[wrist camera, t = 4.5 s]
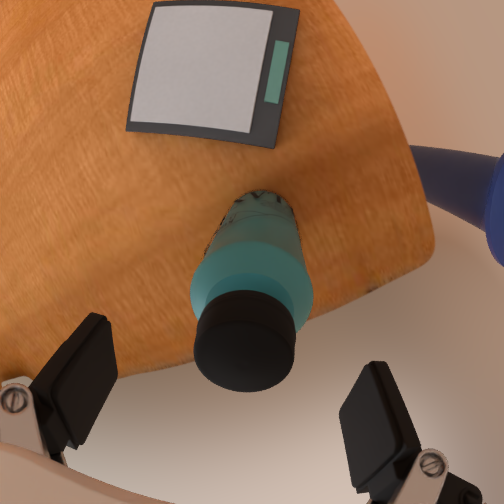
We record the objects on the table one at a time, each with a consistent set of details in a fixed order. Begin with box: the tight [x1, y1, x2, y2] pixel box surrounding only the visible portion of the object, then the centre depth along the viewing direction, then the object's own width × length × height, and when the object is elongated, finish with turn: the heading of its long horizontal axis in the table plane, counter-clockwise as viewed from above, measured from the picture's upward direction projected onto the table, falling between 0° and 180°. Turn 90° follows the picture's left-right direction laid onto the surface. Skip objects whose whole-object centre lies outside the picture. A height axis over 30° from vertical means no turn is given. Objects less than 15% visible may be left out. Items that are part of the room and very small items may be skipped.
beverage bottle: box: [190, 189, 313, 392], centre depth 19 cm, size 6×7×20 cm
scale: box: [126, 0, 300, 149], centre depth 22 cm, size 14×14×3 cm
